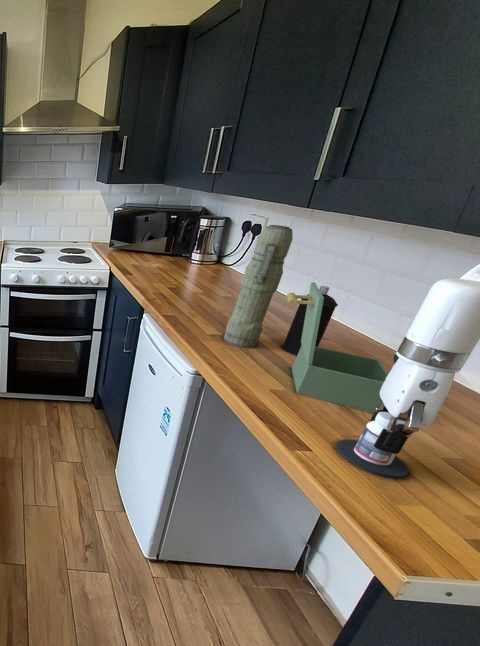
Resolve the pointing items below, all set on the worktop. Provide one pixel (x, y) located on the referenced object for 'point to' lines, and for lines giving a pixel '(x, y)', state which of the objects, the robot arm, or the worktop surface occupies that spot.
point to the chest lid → (309, 318)
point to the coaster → (390, 471)
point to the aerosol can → (296, 329)
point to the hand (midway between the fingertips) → (381, 440)
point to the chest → (340, 378)
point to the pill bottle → (369, 438)
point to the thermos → (258, 286)
